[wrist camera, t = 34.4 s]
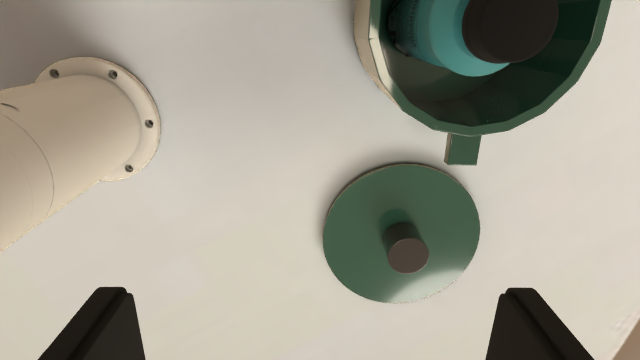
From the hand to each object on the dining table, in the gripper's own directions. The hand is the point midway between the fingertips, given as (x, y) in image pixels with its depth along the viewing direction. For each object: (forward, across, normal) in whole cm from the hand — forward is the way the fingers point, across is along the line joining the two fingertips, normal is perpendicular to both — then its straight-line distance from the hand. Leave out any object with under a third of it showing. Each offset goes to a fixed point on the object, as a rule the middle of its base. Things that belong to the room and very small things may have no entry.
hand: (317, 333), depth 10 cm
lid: (+32, -10, +15) cm, 37 cm away
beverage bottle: (+32, -10, -8) cm, 34 cm away
